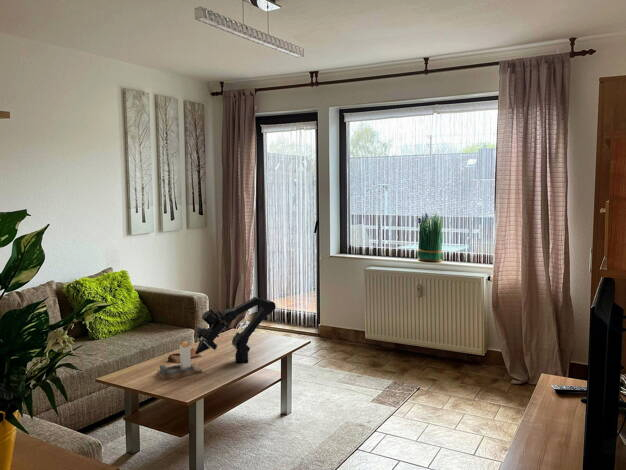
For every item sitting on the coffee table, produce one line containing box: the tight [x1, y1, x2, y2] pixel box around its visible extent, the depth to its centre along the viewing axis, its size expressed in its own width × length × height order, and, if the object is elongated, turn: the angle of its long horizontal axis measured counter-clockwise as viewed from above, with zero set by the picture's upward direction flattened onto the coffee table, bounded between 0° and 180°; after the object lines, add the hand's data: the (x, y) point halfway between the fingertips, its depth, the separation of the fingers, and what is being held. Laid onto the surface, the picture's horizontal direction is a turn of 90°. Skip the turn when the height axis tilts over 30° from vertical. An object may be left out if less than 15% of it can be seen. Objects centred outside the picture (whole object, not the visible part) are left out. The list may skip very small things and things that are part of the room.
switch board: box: [157, 363, 203, 381], centre depth 280 cm, size 20×12×4 cm, turn 120°
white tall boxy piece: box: [179, 341, 192, 369], centre depth 281 cm, size 4×5×14 cm
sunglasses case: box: [167, 348, 202, 365], centre depth 304 cm, size 18×7×7 cm, turn 141°
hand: (195, 353), depth 284 cm, fingers closed
